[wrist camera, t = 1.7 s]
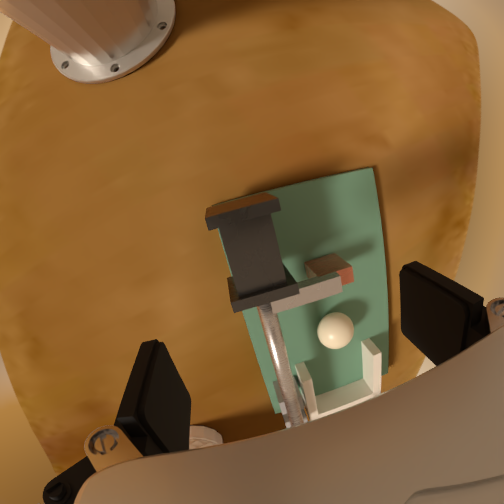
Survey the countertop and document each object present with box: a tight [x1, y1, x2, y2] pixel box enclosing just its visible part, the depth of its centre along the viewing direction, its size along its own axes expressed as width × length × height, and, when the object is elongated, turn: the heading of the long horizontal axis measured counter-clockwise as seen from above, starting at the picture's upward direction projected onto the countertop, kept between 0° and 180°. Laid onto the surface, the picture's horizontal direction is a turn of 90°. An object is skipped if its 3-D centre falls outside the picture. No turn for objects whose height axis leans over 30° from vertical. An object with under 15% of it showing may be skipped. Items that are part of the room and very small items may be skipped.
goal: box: [295, 338, 381, 421], centre depth 30 cm, size 7×9×3 cm
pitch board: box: [212, 167, 389, 428], centre depth 27 cm, size 25×15×4 cm, turn 14°
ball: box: [317, 312, 354, 349], centre depth 27 cm, size 4×4×4 cm
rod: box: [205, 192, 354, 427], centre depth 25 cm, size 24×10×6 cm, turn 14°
